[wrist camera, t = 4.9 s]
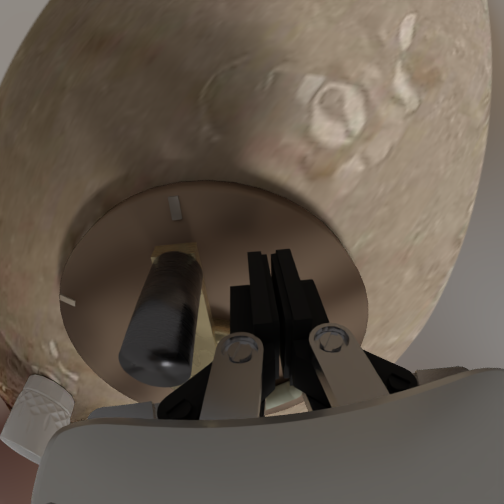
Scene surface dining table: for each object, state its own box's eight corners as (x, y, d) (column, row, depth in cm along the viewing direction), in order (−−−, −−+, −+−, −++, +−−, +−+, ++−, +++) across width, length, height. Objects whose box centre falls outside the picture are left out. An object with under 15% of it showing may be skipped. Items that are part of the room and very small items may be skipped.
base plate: (390, 339, 23) (405, 369, 20) (199, 420, 28) (198, 448, 25) (248, 98, 13) (253, 98, 10) (30, 296, 18) (10, 325, 15)
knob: (263, 378, 20) (272, 465, 14) (173, 383, 20) (164, 466, 14) (250, 223, 14) (263, 335, 8) (115, 238, 14) (52, 339, 8)
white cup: (17, 362, 23) (-12, 428, 15) (70, 383, 24) (46, 458, 16) (36, 396, 27) (16, 453, 18) (84, 413, 28) (69, 477, 20)
